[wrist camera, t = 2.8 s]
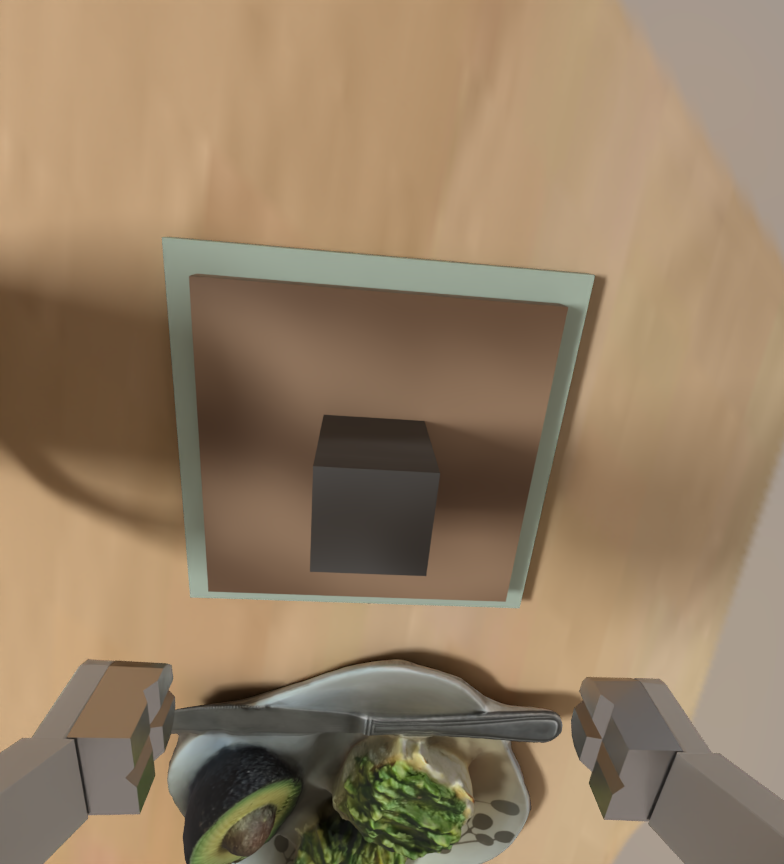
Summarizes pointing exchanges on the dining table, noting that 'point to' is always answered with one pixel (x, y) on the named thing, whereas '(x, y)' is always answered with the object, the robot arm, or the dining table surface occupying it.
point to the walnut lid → (366, 436)
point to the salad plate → (354, 771)
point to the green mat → (369, 273)
